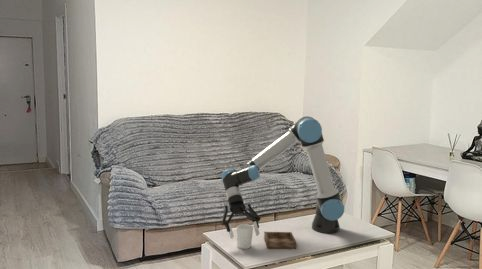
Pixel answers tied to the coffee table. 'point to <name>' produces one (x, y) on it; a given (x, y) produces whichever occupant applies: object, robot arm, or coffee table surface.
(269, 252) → the coffee table surface
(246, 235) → the white cup
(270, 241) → the tray
